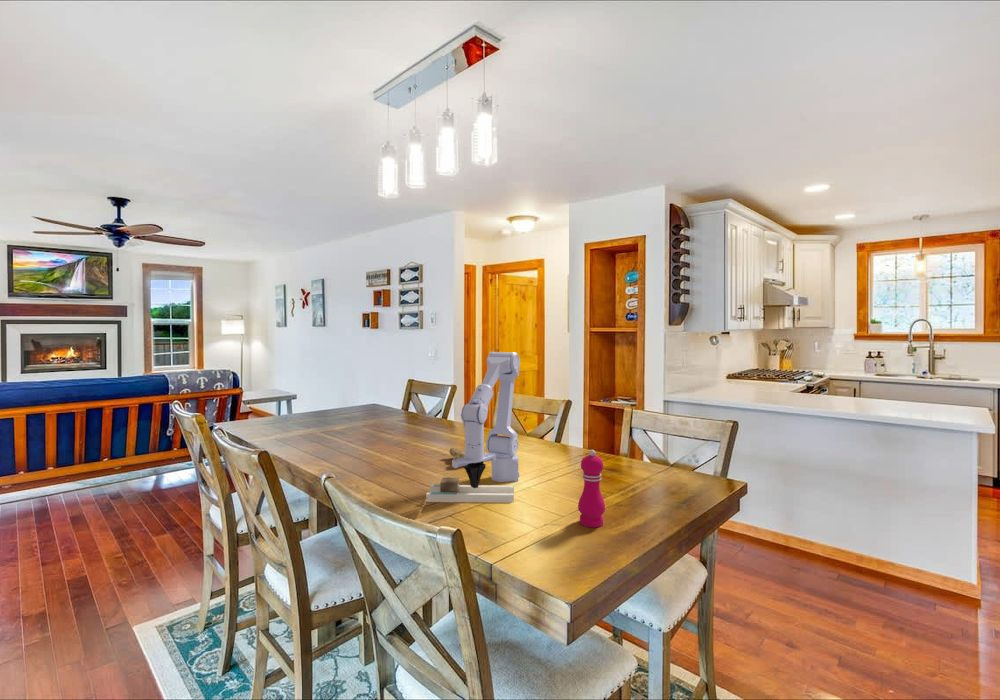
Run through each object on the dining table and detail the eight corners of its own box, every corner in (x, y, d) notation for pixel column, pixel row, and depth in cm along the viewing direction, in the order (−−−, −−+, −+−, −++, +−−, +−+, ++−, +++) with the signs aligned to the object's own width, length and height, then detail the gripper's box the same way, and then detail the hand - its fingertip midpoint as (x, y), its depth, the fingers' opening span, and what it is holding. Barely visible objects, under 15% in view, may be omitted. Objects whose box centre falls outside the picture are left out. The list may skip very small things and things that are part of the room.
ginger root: (490, 465, 186) (485, 444, 186) (448, 475, 187) (443, 454, 186) (492, 455, 202) (487, 436, 202) (453, 465, 202) (448, 445, 202)
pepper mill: (586, 515, 141) (587, 445, 140) (609, 522, 137) (610, 449, 135) (572, 523, 136) (573, 450, 134) (596, 530, 131) (597, 454, 130)
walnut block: (458, 493, 157) (458, 477, 156) (456, 498, 152) (456, 482, 151) (442, 493, 157) (442, 477, 156) (440, 498, 152) (440, 482, 151)
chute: (513, 494, 159) (513, 484, 158) (513, 505, 149) (513, 495, 148) (431, 493, 159) (431, 483, 159) (425, 504, 149) (425, 494, 149)
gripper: (487, 437, 160) (487, 479, 161) (446, 443, 152) (447, 487, 153) (499, 441, 155) (499, 485, 155) (458, 448, 146) (458, 494, 147)
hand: (474, 487), depth 154 cm, fingers closed
